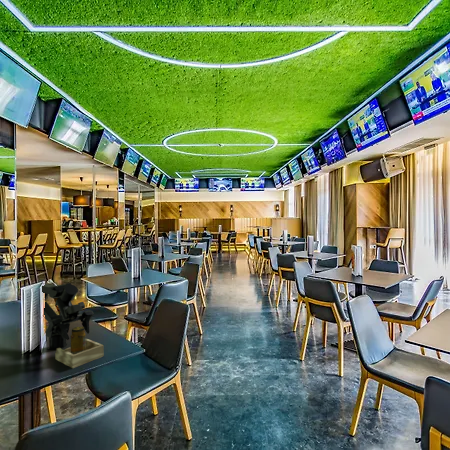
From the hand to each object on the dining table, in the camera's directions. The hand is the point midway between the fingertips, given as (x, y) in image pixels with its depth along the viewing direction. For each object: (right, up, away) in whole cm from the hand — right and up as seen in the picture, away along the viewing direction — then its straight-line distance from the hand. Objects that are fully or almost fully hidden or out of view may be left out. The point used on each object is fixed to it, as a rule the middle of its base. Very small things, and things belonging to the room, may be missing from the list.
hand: (78, 336), depth 137 cm
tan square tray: (+1, -9, 0) cm, 9 cm away
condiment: (0, -9, 0) cm, 9 cm away
